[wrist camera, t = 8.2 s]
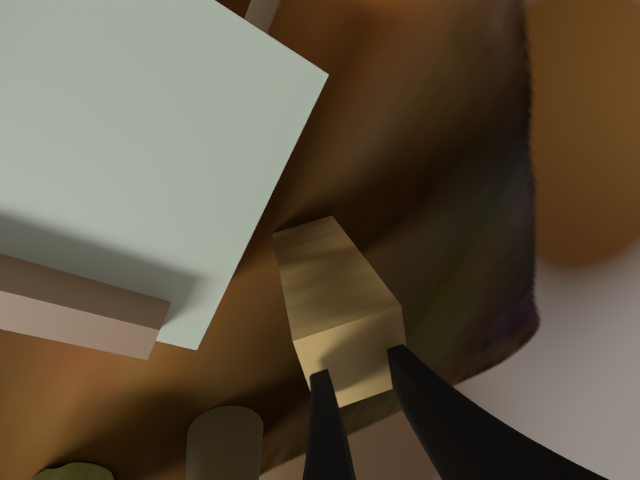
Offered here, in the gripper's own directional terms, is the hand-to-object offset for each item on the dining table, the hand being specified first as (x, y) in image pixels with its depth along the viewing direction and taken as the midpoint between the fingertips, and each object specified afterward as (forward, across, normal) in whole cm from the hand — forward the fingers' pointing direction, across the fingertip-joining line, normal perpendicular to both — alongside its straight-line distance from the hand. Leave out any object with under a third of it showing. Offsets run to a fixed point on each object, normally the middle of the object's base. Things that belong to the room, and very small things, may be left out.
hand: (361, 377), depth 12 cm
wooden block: (+10, 0, 0) cm, 10 cm away
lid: (+6, +7, -9) cm, 13 cm away
